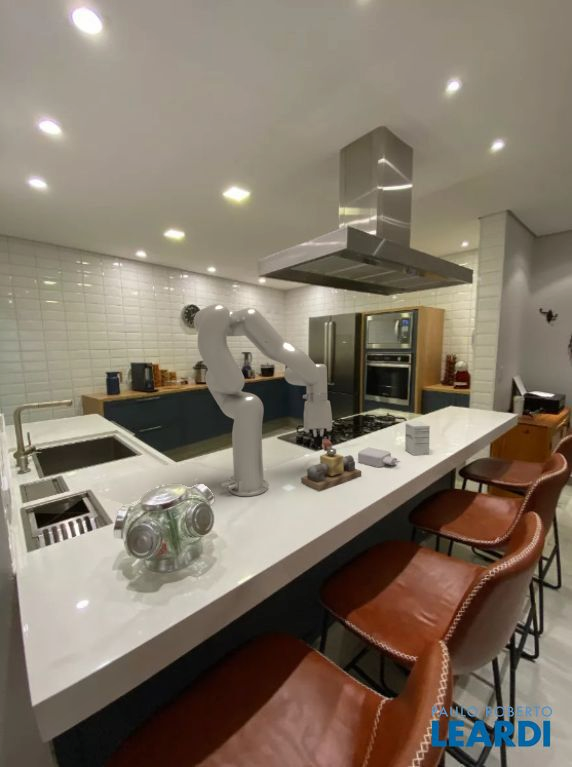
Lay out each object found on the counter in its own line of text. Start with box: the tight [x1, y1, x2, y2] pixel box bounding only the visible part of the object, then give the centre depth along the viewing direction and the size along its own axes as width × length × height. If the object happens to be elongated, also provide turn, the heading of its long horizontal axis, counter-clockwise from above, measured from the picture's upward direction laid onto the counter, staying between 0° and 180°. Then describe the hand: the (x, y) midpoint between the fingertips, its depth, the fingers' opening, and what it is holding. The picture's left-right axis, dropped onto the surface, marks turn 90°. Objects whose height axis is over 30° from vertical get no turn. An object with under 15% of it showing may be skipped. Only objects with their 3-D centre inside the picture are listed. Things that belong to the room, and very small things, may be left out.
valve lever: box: [321, 438, 337, 454], centre depth 117 cm, size 14×3×3 cm, turn 3°
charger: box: [357, 447, 401, 468], centre depth 127 cm, size 5×9×15 cm
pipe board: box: [300, 453, 362, 492], centre depth 112 cm, size 20×9×9 cm, turn 127°
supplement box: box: [404, 421, 431, 457], centre depth 140 cm, size 7×7×13 cm
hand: (318, 446), depth 122 cm, fingers closed
